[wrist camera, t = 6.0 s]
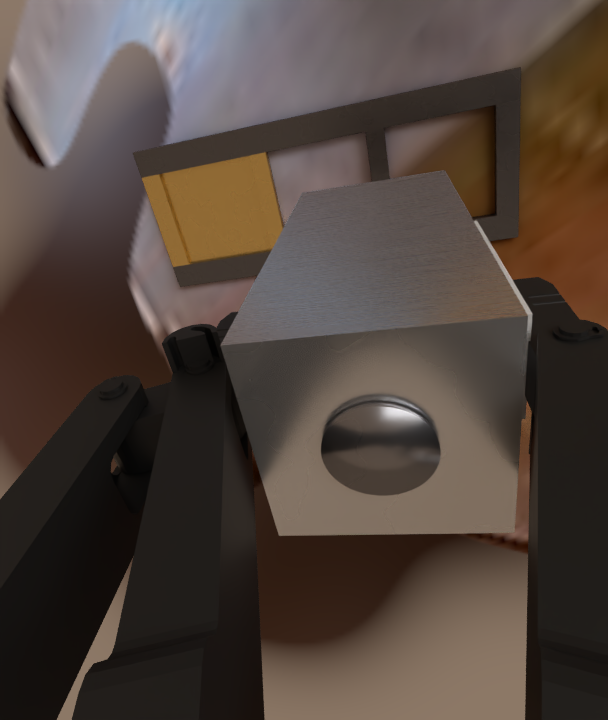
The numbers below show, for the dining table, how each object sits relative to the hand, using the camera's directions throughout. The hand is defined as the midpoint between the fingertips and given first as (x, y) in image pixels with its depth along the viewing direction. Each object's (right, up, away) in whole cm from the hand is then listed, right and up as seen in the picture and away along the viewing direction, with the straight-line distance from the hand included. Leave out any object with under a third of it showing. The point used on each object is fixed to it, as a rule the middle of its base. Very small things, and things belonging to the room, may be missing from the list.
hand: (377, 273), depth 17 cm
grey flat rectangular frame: (-1, +8, +16) cm, 18 cm away
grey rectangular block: (0, +1, +2) cm, 2 cm away
